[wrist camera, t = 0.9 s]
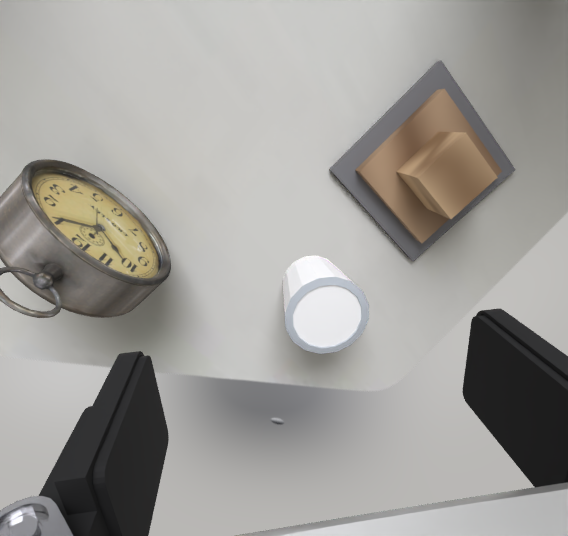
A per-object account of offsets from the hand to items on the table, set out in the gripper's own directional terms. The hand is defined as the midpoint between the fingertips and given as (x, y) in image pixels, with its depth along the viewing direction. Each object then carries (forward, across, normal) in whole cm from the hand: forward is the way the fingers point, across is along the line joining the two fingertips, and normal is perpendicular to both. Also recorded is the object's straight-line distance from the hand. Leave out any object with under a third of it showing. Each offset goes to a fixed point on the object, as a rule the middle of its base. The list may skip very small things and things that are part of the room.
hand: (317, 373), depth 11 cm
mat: (+24, -14, -2) cm, 28 cm away
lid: (+24, -14, -2) cm, 28 cm away
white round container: (+24, -4, +8) cm, 26 cm away
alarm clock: (+24, +13, 0) cm, 27 cm away
